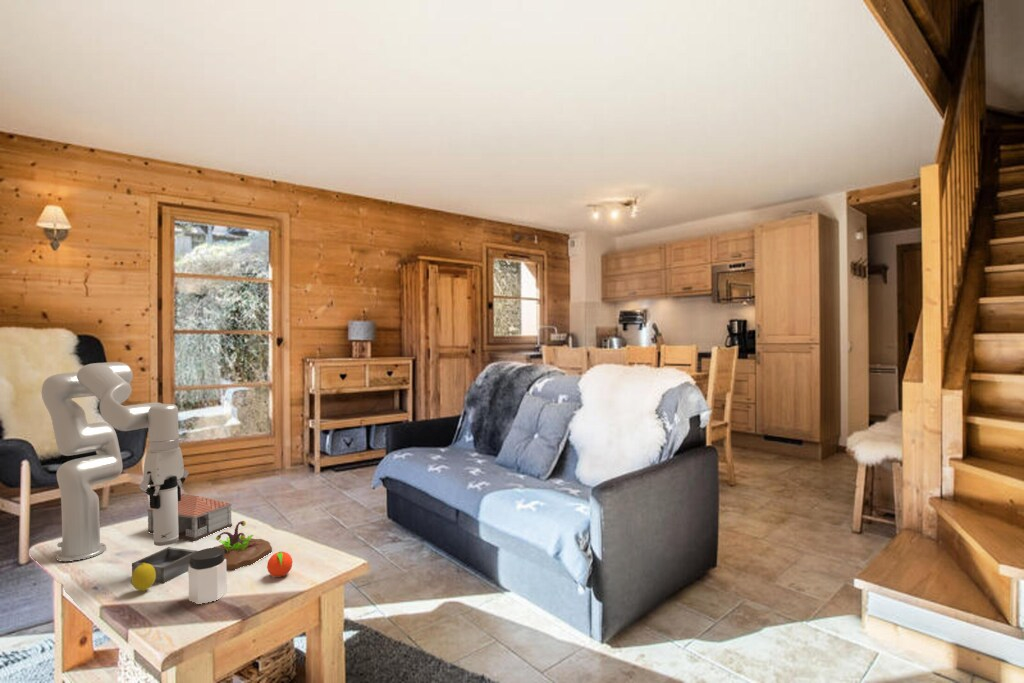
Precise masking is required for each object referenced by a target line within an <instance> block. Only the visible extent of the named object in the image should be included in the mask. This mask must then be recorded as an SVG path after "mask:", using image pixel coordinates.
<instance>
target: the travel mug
mask: <svg viewBox="0 0 1024 683" xmlns="http://www.w3.org/2000/svg"><path fill="white" fill-rule="evenodd" d="M154 489H155V487H154ZM154 489H153V490H154ZM158 495H160V508H159V509H153V529H154V534H153V545H154V546H158V547H163V546H168V545H172V544H174V543H176V542H178V541H179V540H180V539H179V535H178V533H179V532H178V492H177V476H173V477H170V478H169V479H166V480H164V484H162V485H160V489H159V492H158Z"/></svg>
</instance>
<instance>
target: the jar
mask: <svg viewBox="0 0 1024 683" xmlns="http://www.w3.org/2000/svg"><path fill="white" fill-rule="evenodd" d="M196 551H197V552H195V553H193V554H192V555H191V556H190V566H189V567H188V571H187V572H188V600H189V602H191V601H192V602H191V603H193V602H195V603H196V604H195V603H194V604H195V605H197V604H201V605H203V604H202V603H205V604H209V603H212V601H214V602H217V601H216V600H218V599H219V600H220V599H221V598H222V597H223V596H225V595H226V594H227V593H228V584H227V582H228V581H227V580H228V577H227V572H228V571H227V570H226V559H224V549H222V548H213V547H207V548H203V549H200V550H196ZM219 600H218V601H219ZM208 602H209V603H208Z"/></svg>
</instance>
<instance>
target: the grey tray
mask: <svg viewBox="0 0 1024 683" xmlns="http://www.w3.org/2000/svg"><path fill="white" fill-rule="evenodd" d="M197 551H198V550H193V549H185V548H179V547H171V546H168V547H166V548H164V549H161V550H160V551H157V552H155V553H152V554H150V555H148V556H146V557H142V558H141V559H139V560H137V561H134V562H132V563H131V575H132V574H133V572H134V570H135V569H136V568H137V567H138V566H139V565H141V564H142V563H147V564H151V565H152V566H153V567H154V569H155V572H156V578H155V581H154V583H158V582H160V583H159V584H165V582H166V583H167V581H168V582H169V581H171V580H173V579H175V578H177V577H179V576H180V575H183V574H185V573H187V572H188V567H189V566H190V556H191V555H192V554H193V553H195V552H197Z"/></svg>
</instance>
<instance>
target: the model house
mask: <svg viewBox="0 0 1024 683" xmlns="http://www.w3.org/2000/svg"><path fill="white" fill-rule="evenodd" d="M232 506H233V504H232V503H231V502H226V501H222V500H221V501H220V500H217V499H213V498H208V497H207V498H206V497H203V496H198V495H191V494H184V493H183V494H181V501H178V532H179V533H178V535H179V539H178V540H182V539H183V540H182V541H187V540H189V541H188V542H193V541H195V542H197V541H200V540H202V539H204V538H203V537H205V538H207V537H209V536H208V535H210V534H212V535H214V534H213V533H215V532H217V531H219V532H221V531H220V530H222V529H224V528H227V527H229V528H231V527H230V526H232V527H233V522H232ZM227 529H228V528H227ZM224 530H225V529H224ZM222 531H223V530H222ZM148 532H150V533H154V529H153V508H150V507H149V508H148V509H147V533H148ZM150 533H149V534H150ZM217 533H218V532H217ZM215 534H216V533H215ZM206 536H207V537H206ZM210 536H211V535H210ZM201 538H202V539H201ZM199 539H200V540H199Z"/></svg>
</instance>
